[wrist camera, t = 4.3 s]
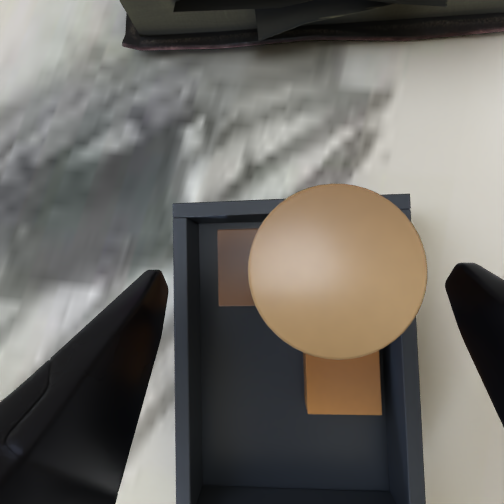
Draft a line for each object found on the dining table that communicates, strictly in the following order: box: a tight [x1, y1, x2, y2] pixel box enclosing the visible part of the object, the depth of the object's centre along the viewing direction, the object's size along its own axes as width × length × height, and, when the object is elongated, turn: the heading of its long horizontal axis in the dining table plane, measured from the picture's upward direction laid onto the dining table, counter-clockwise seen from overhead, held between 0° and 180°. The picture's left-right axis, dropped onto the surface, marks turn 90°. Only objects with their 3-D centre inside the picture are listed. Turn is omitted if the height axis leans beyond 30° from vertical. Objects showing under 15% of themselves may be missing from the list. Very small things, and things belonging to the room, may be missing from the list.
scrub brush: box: [217, 184, 427, 360], centre depth 10 cm, size 4×8×13 cm, turn 91°
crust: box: [303, 350, 382, 415], centre depth 16 cm, size 4×4×1 cm
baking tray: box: [173, 194, 426, 504], centre depth 16 cm, size 18×13×3 cm
